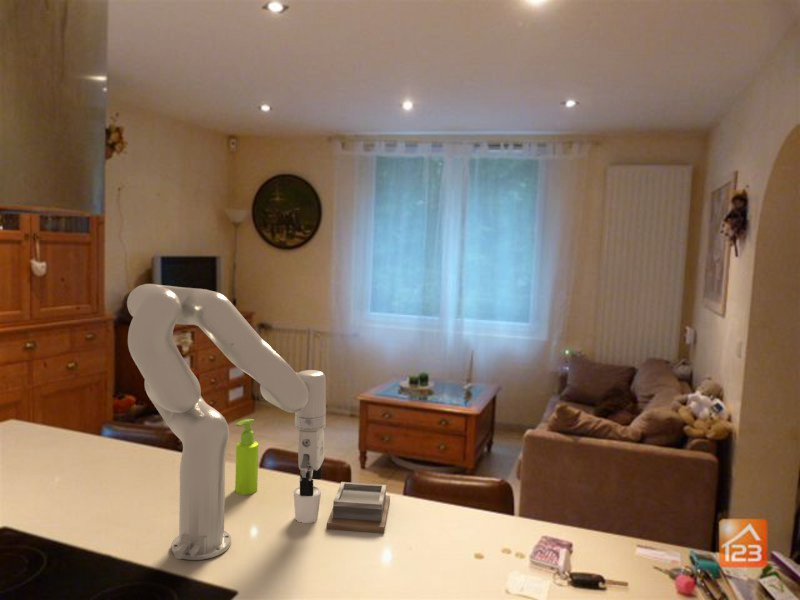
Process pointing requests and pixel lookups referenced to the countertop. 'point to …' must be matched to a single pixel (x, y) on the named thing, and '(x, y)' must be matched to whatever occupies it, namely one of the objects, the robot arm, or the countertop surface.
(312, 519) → the white cup
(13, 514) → the countertop surface
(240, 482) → the soap dispenser
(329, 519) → the stand
